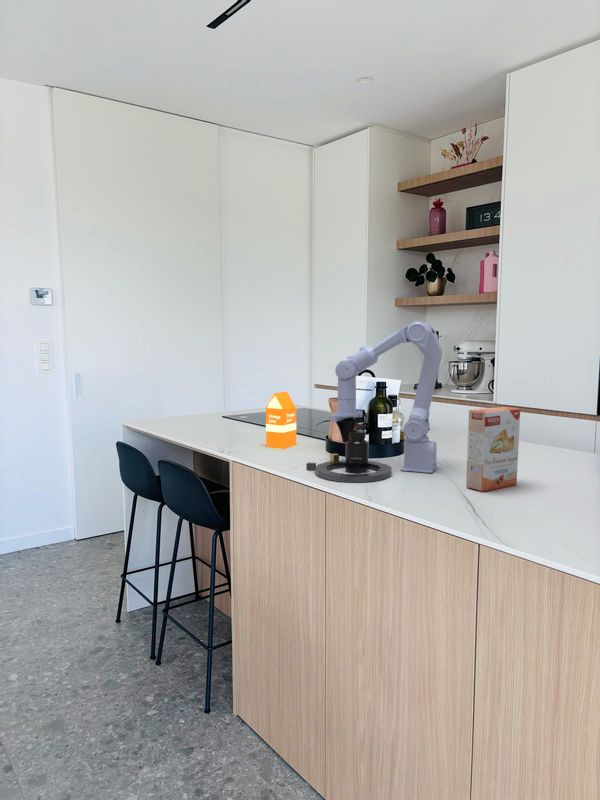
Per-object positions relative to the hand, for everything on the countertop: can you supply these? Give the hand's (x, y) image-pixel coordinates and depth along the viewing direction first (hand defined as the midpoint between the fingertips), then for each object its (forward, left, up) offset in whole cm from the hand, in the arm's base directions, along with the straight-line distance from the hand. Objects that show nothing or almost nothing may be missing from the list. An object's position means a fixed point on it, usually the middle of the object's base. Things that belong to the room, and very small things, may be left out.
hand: (346, 442), depth 183 cm
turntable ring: (-6, +12, -7) cm, 15 cm away
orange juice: (+32, -20, -7) cm, 39 cm away
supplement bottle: (-6, +8, -7) cm, 12 cm away
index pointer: (+7, +12, -7) cm, 16 cm away
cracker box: (-45, +13, -7) cm, 47 cm away
